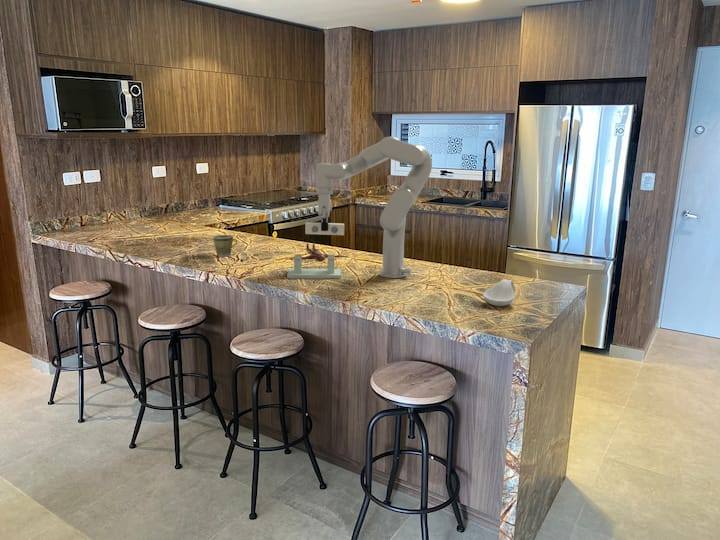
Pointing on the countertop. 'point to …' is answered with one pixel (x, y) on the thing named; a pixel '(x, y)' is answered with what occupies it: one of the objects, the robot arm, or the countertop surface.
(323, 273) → the display stand
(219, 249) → the ceramic cup
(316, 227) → the cream rectangular beam
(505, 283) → the spoon rest
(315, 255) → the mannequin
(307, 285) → the countertop surface
